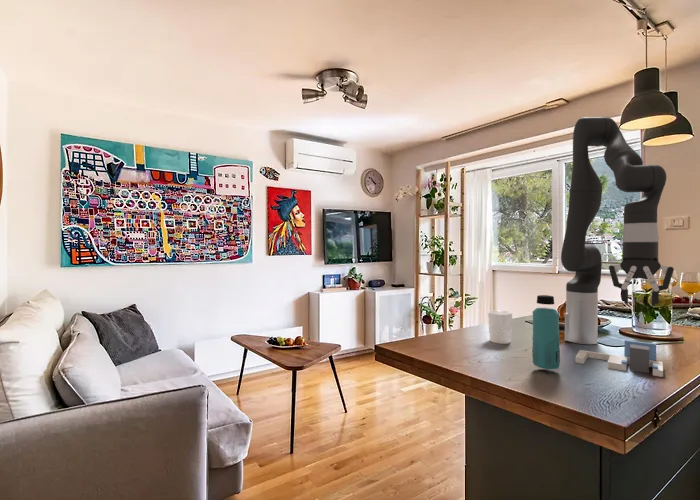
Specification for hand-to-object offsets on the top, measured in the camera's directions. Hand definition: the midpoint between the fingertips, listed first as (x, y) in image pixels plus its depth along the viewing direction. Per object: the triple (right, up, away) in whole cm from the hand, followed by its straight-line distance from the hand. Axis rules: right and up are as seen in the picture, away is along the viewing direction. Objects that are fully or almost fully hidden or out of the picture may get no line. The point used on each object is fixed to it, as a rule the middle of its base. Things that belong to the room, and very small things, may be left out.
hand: (639, 304), depth 99 cm
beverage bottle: (-26, -18, -1) cm, 31 cm away
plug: (0, -18, 0) cm, 18 cm away
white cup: (-25, -17, +30) cm, 43 cm away
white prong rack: (-3, -17, +4) cm, 18 cm away
